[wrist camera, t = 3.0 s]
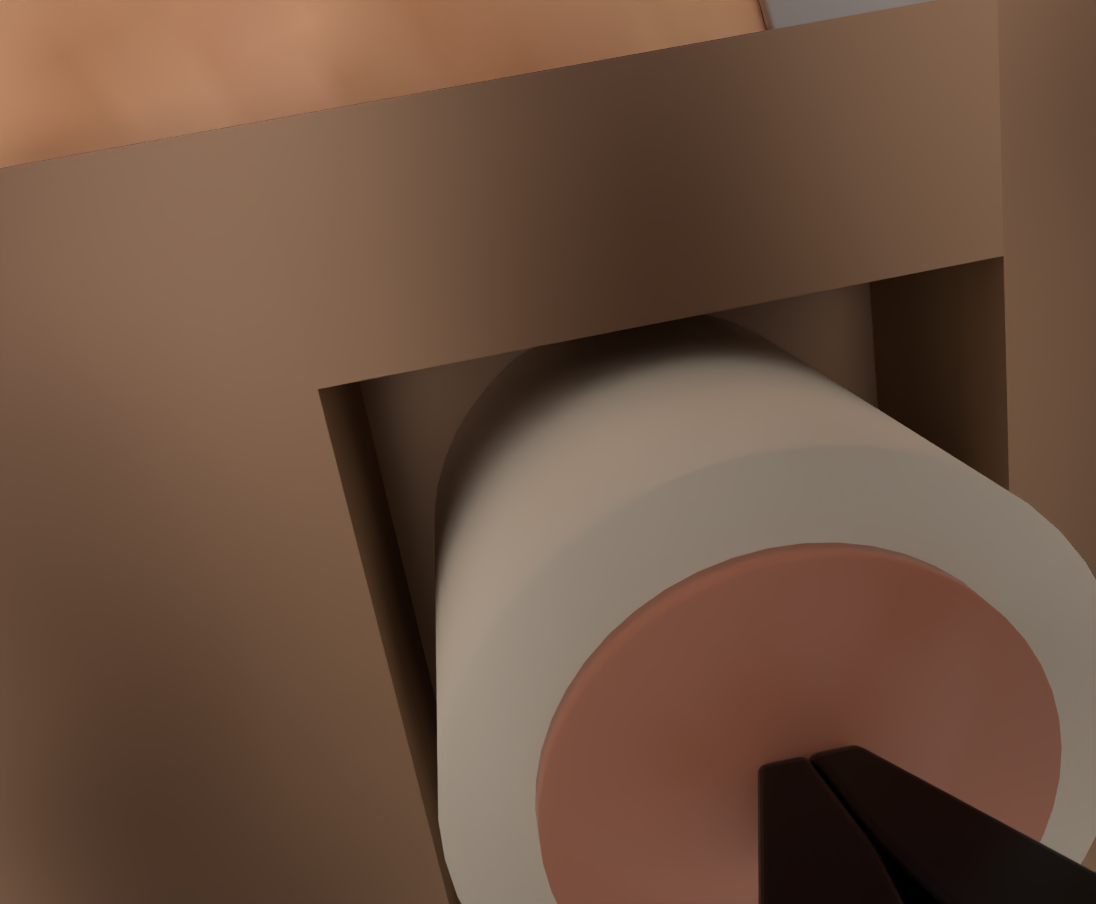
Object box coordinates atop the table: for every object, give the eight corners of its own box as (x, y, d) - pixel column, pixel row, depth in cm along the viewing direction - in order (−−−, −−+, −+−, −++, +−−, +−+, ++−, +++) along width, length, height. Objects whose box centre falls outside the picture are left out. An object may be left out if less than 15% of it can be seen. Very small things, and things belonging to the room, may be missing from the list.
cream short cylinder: (835, 270, 13) (1162, 385, 7) (867, 660, 15) (1145, 999, 9) (391, 356, 13) (358, 548, 7) (479, 743, 15) (513, 1149, 9)
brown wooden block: (1230, -43, 13) (1544, -110, 10) (1197, 717, 17) (1412, 883, 14) (-136, 203, 12) (-381, 237, 9) (149, 949, 16) (65, 1197, 13)
